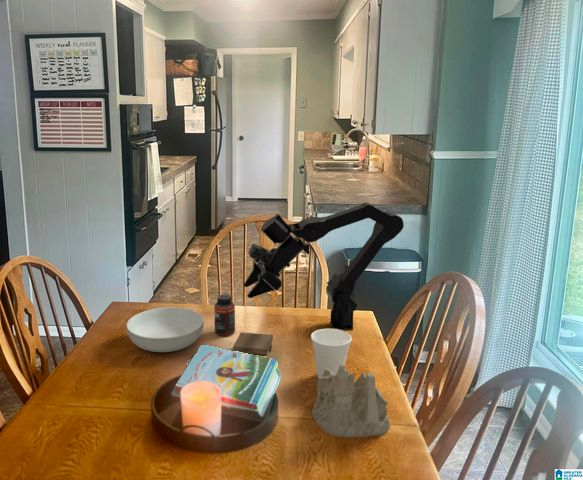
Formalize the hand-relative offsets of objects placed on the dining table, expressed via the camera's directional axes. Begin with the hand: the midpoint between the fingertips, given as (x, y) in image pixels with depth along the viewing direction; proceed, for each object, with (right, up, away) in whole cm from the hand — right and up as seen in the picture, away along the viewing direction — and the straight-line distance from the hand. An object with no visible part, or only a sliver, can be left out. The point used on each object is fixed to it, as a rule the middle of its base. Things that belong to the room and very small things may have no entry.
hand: (246, 291), depth 151 cm
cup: (+22, -19, -22) cm, 37 cm away
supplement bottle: (-6, -12, +2) cm, 14 cm away
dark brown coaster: (+3, -16, -11) cm, 19 cm away
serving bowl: (-22, -14, -6) cm, 27 cm away
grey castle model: (+26, -24, -38) cm, 52 cm away
